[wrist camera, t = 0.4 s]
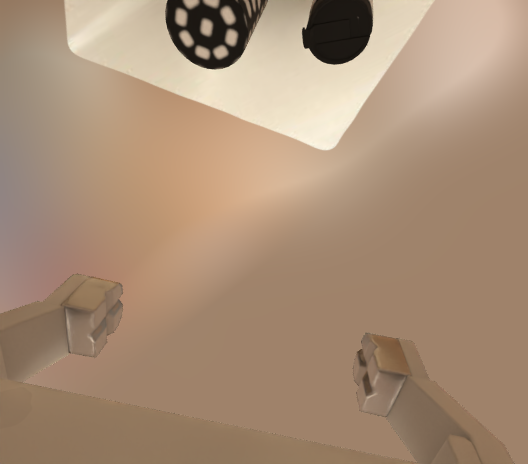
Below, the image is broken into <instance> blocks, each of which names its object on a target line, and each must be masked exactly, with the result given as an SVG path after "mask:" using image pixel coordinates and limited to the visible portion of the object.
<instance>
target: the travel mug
mask: <svg viewBox="0 0 528 464" xmlns="http://www.w3.org/2000/svg"><path fill="white" fill-rule="evenodd" d="M372 26H373V0H313V2H312V6H311V10H310V15H309V21H308V24H307V28H306V29H305V27H304V28H303V29H302V38H303V45H304V48H305V49H306V48H309V49H310V51H311V52H312V54H313V55H314V56H315V57H316V58H317V59H319V60H320V61H322V62H324V63H327V64H334V65H335V64H343V63H346V62H348V61H351V60H353V59H354V58H355V57H357V56H358V55H359V54H360V53H361V52H362V51H363V50H364V49H365V47H366V46H367V43H368V41H369V38H370V34H371V32H372Z"/></svg>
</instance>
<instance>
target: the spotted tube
mask: <svg viewBox="0 0 528 464" xmlns="http://www.w3.org/2000/svg"><path fill="white" fill-rule="evenodd" d="M267 2H268V0H168V1H167V5H166V11H165V12H166V24H167V29H168V32H169V34H170V37H171V39H172V41H173V43H174V44H175V46H176V47H177V49H178V50H179V51H180V52H181V53H182V54H183V55H184V56H185V57H186V58H187V59H188V60H190V61H191V62H192V63H194V64H196V65H198V66H200V67H203V68H207V69H223V68H226V67H229V66H230V65H232V64H234V63H235V62H236V61H237V60H238V59H239V58H240V57H241V55H242V54H243V52H244V50H245V48H246V46H247V44H248V42H249V40H250V38H251V35H252V33H253V31H254V29H255V27H256V25H257V23H258V21H259V19H260V17H261V14H262V12H263V10H264V8H265V6H266V4H267Z"/></svg>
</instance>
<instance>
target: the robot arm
mask: <svg viewBox="0 0 528 464" xmlns="http://www.w3.org/2000/svg"><path fill="white" fill-rule="evenodd" d="M122 294H123V289H122V285H121V284H120V283H118V282H113V281H109V280H104V279H100V278H95V277H90V276H85V275H81V274H73V275H72V276H71V277H69V278H68V279H67V280H66V281H65V282H64V283H63V284H62V285H61V286H60V287H58V289H56V290H55V291H54V292H53V293H52V294H51V295H50V296H49V297H48V298H47V299H45V300H44V301H43V302H39V301H37V302H34V303H31V304H28V305H25V306H22V307H19V308H16V309H13V310H10V311H7V312H4V313H1V314H0V464H514V462H513V460H512V458H511V457H510V455H509V453H508V451H507V449H506V447H505V445H504V444H503V443H502V442H501V441H500V440H499V439H498V438H496V437H495V436H494V435H493V434H492V433H491V432H490V431H489V430H487V429H486V428H485V427H484V426H483V425H482V424H481V423H480V422H479V421H478V420H477V419H476V418H474V417H473V416H472V415H471V414H470V413H469V412H468V411H467V410H466V409H465V408H464V407H462V406H461V405H460V404H459V403H458V402H457V401H456V400H455V399H453V397H451V396H450V395H449V394H448V393H447V392H446V391H445V390H444V389H443V388H442V387H440V386H439V385H438V384H437V383H436V382H435V381H431V380H430V379H429V377H428V375H427V372H426V370H425V367H424V365H423V363H422V360H421V358H420V355H419V353H418V351H417V348H416V346H415V344H414V343H413V342H412V341H410V340H405V339H399V338H391V337H386V336H381V335H376V334H370V333H365V335H364V336H363V338H362V341H361V343H362V349H361V350H359V351H358V352H357V354H356V357H355V359H354V366H353V376H354V381H355V383H356V384H357V385H358V386H359V388H358V390H357V392H356V394H357V399H358V405H359V411H361V412H365V413H370V414H374V415H378V416H383V417H387V418H386V419H387V420H388V422H389V423H390V424H391V426H392V427H393V429H394V430H395V431H396V433H397V434H398V436H399V437H400V439H401V440H402V442H403V443H404V444H405V446H406V447H407V449H408V450H409V451H410V453H411V454H412V455H413V457H414V458H415V460H416V461H417V463H415V462H410V461H405V460H400V459H396V458H390V457H386V456H381V455H375V454H371V453H366V452H361V451H356V450H351V449H346V448H341V447H335V446H331V445H326V444H321V443H317V442H311V441H307V440H302V439H297V438H292V437H287V436H283V435H278V434H273V433H268V432H263V431H258V430H253V429H248V428H243V427H238V426H233V425H229V424H224V423H219V422H214V421H209V420H204V419H199V418H194V417H189V416H184V415H179V414H175V413H170V412H164V411H160V410H155V409H150V408H145V407H140V406H135V405H130V404H125V403H120V402H116V401H110V400H106V399H101V398H96V397H91V396H86V395H81V394H76V393H71V392H66V391H61V390H56V389H52V388H47V387H42V386H37V385H32V384H27V383H22V382H23V381H25V380H27V379H28V378H30V377H32V376H33V375H35V374H37V373H38V372H40V371H42V370H43V369H45V368H47V367H49V366H50V365H52V364H53V363H55V362H57V361H59V360H60V359H62V358H64V357H65V356H67V355H68V354H69V353H72V354H78V355H83V356H89V357H95V358H96V357H97V356H98V354H99V353H100V351H101V350H102V349H103V347H104V346H105V344H106V343H107V335H110V334H111V333H114V331H115V330H116V328H117V327H118V325H119V323H120V320H121V317H122V311H123V304H122V303H121V301H120V300H119V298H120V297H121V295H122Z"/></svg>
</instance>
